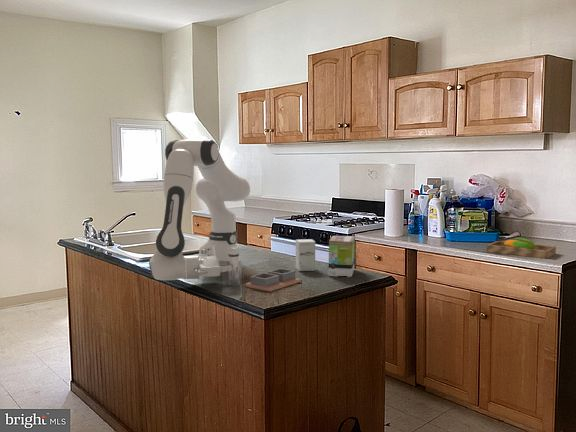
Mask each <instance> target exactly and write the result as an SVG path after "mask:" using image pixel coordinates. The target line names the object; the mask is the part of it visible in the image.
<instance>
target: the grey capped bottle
mask: <svg viewBox="0 0 576 432" xmlns="http://www.w3.org/2000/svg"><path fill="white" fill-rule="evenodd" d="M237 247H238V246H237ZM237 247H231V248H228V258H229V265H231V266H232V271H228V284H229V286H232V287H233V286H240V282H241V281H240V261H239V257H240V248H239V247H238V248H237Z"/></svg>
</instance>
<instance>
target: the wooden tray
mask: <svg viewBox="0 0 576 432" xmlns="http://www.w3.org/2000/svg"><path fill="white" fill-rule="evenodd" d="M504 242H505V241H500V240H496V241H494V242H491V243H489V244H487V245H486V253H493V254H502V255H511V256H520V257H530V258H539V259H549V258H551V257H553V256H554V255H556V254H557V253H556V251H557V246H554V245H544V244H543V245H542V244H535V247H536V250H535V249H525V248H515V247H507V246H506V245H505V244H504Z"/></svg>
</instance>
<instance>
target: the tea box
mask: <svg viewBox="0 0 576 432" xmlns="http://www.w3.org/2000/svg"><path fill="white" fill-rule="evenodd" d="M355 239H356V237H355V236H354V235H353V236H352V235H332V236H331V237H330V239H329V241H328V270H327V271H328V275H327V276H328V277H338V276H347V277H346V278H351V277H353V274H354V270H355V255H356V254H355V250H356V248H355V246H356V240H355Z"/></svg>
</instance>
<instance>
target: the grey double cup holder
mask: <svg viewBox="0 0 576 432" xmlns="http://www.w3.org/2000/svg"><path fill="white" fill-rule="evenodd" d="M296 277H297V276H296V270H293V269H287V268H281V267H279V268H277V269H272V270H270V271H267V272H262V273H257V274H254V275H251V276H250V277H249V279H250V281H249V282H246V283H245V287H246V288H251V289H255V290H261V291H266V292H273V291H276V290H279V289H283V288H285V287H289V286H292V285H295V284H299V283H301V278H296Z"/></svg>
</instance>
